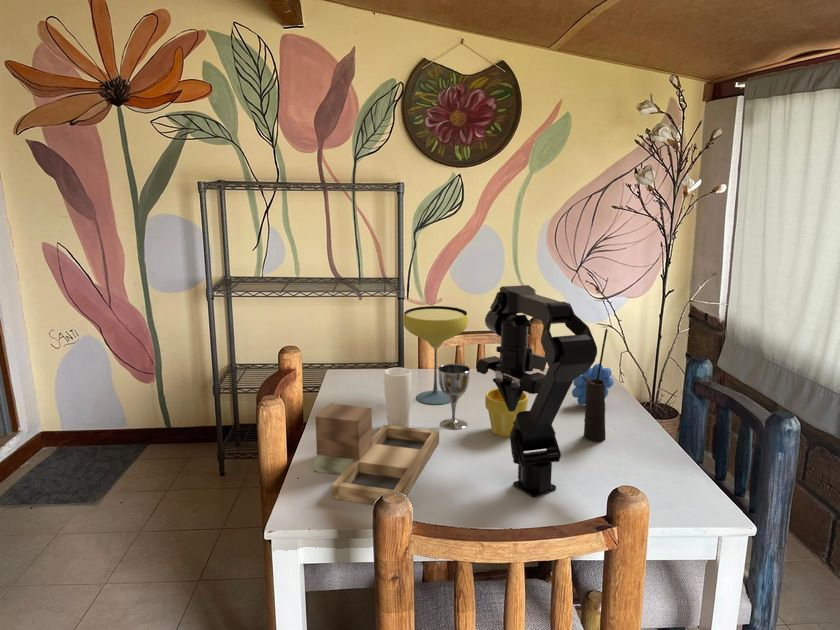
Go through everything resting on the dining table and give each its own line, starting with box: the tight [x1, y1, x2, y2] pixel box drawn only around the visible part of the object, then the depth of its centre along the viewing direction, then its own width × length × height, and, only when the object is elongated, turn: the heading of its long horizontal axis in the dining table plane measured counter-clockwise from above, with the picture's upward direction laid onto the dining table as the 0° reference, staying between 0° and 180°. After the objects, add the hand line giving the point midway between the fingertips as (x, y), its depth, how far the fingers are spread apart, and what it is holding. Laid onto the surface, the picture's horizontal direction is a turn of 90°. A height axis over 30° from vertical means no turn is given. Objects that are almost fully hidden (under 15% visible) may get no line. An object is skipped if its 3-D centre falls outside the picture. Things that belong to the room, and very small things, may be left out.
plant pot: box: [484, 387, 529, 438], centre depth 160 cm, size 10×10×10 cm
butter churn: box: [583, 328, 608, 443], centre depth 155 cm, size 9×10×28 cm
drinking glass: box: [383, 367, 412, 428], centre depth 162 cm, size 7×7×15 cm
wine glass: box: [437, 363, 471, 431], centre depth 164 cm, size 8×8×15 cm
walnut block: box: [314, 403, 373, 460], centre depth 143 cm, size 10×8×9 cm
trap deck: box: [313, 424, 440, 506], centre depth 143 cm, size 23×32×3 cm
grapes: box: [571, 363, 614, 406], centre depth 178 cm, size 12×7×12 cm, turn 97°
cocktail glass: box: [402, 305, 469, 406], centre depth 181 cm, size 18×18×25 cm
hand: (511, 410), depth 143 cm, fingers closed
